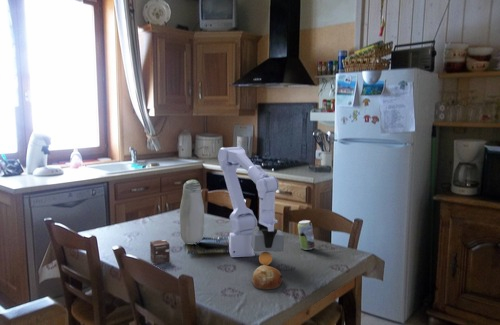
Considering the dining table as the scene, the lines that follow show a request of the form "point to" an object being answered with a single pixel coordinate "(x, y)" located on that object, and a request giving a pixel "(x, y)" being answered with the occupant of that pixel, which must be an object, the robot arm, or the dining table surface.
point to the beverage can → (306, 234)
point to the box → (159, 251)
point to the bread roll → (266, 277)
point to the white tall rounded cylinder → (192, 213)
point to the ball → (265, 258)
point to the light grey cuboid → (259, 242)
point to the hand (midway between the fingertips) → (266, 244)
